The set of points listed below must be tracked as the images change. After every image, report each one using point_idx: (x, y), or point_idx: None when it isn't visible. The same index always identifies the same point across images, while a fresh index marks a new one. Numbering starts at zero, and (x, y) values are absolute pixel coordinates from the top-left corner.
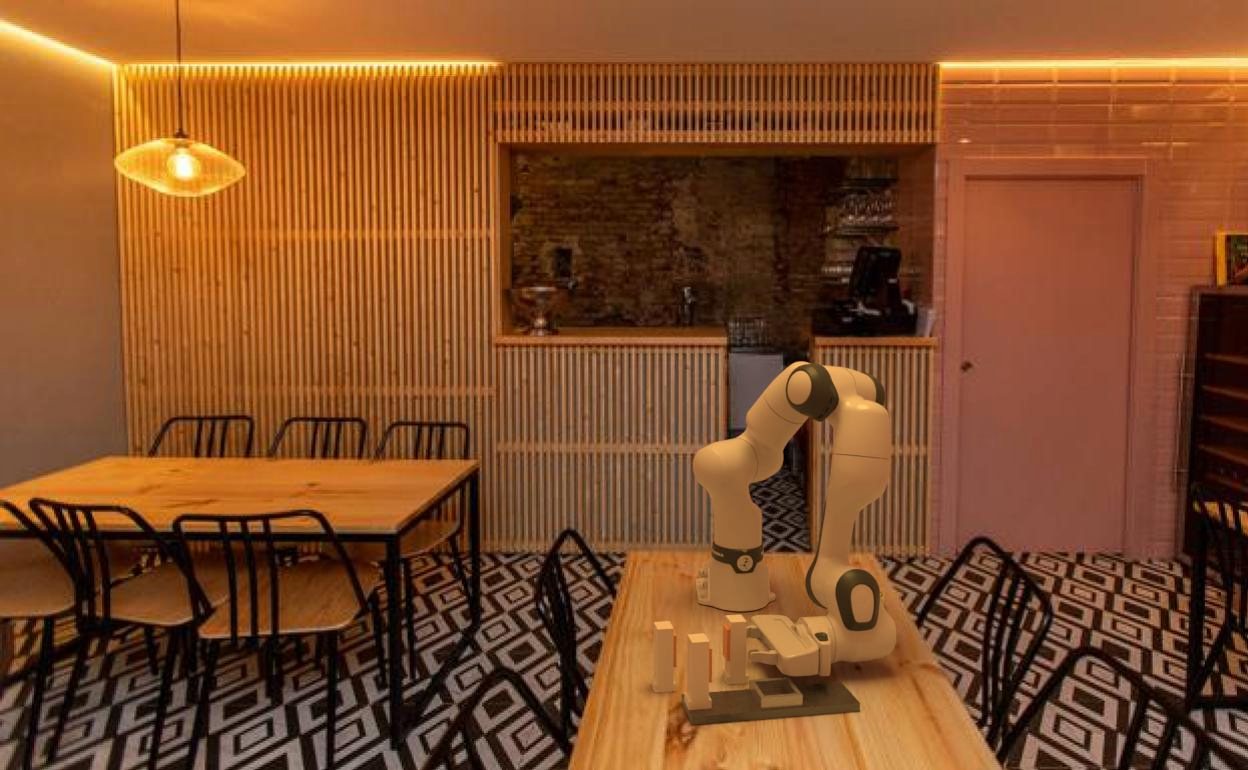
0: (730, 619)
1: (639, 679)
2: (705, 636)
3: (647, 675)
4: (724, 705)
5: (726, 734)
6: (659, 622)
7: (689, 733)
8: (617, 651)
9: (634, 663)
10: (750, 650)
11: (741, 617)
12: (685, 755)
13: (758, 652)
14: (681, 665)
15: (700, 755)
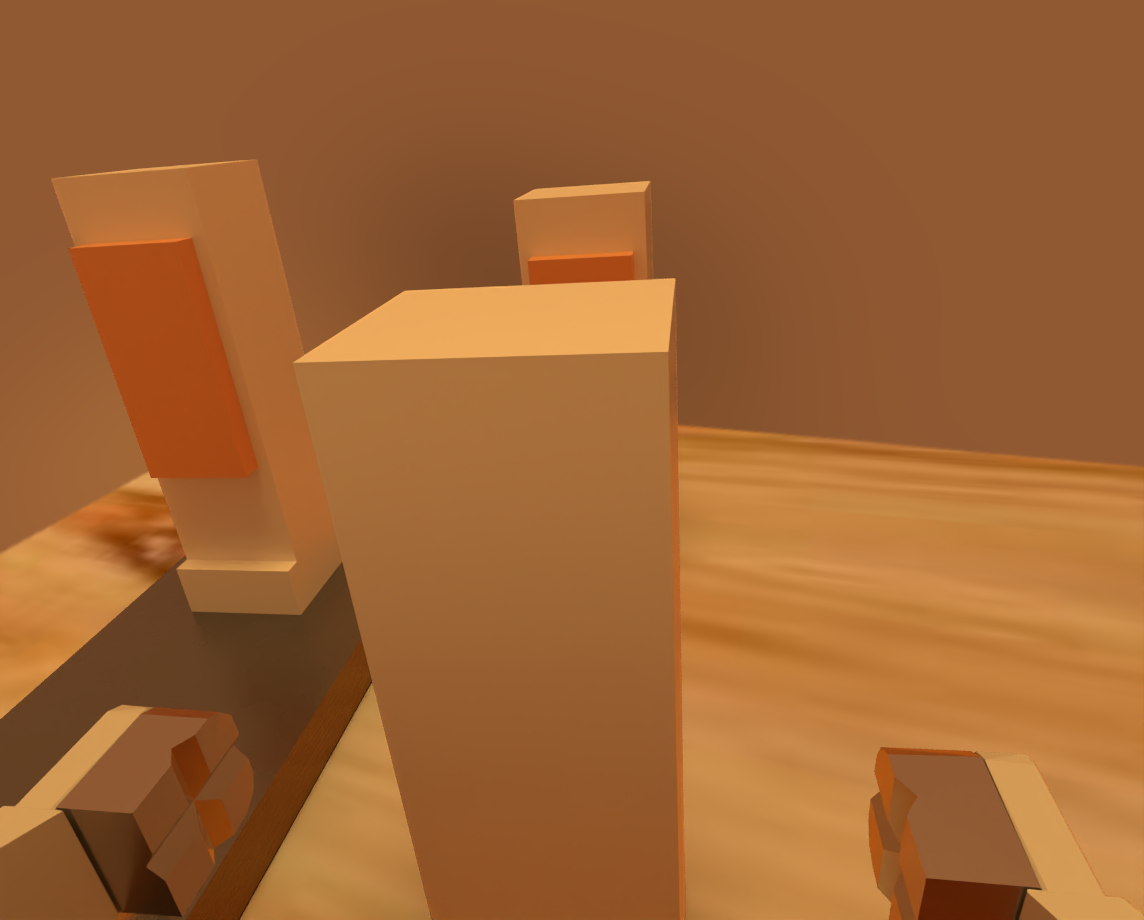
0: (501, 291)
1: (721, 500)
2: (134, 171)
3: (762, 524)
4: (155, 669)
5: (13, 666)
6: (636, 185)
7: (173, 559)
8: (1059, 473)
9: (911, 503)
10: (200, 717)
11: (511, 345)
12: (70, 528)
13: (44, 782)
14: (908, 665)
15: (16, 559)
